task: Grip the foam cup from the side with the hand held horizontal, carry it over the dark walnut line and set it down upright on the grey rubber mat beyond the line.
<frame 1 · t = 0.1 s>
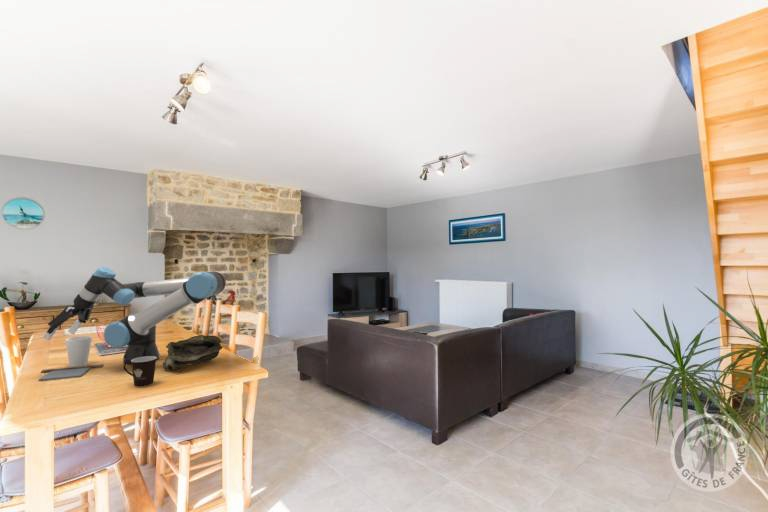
hand: (58, 335, 167), 15 cm above the table, tool tilted 35°, fingers open, 13 cm apart
foam cup: (78, 366, 172), on the table
coffee mug: (141, 383, 148), on the table
throw line: (73, 369, 166), on the table
hollow geode rock: (194, 365, 174), on the table
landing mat: (65, 374, 158), on the table
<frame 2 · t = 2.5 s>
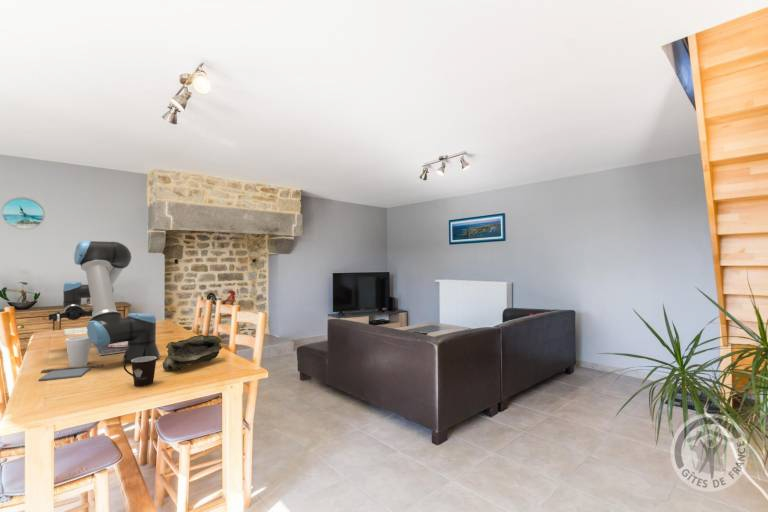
hand: (77, 317, 179), 22 cm above the table, tool horizontal, fingers open, 13 cm apart
nothing on the table moved.
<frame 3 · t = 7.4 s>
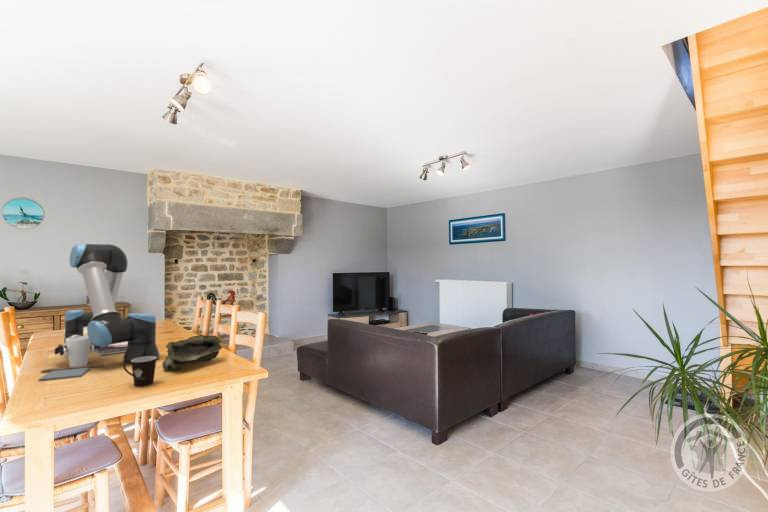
hand: (79, 351, 169), 8 cm above the table, tool horizontal, fingers closed on foam cup, 9 cm apart
foam cup: (78, 366, 172), on the table, touching gripper
everything else where it was.
when the fingers open (9 cm above the table, at t = 14.0 s): foam cup drops 1 cm, resting on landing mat.
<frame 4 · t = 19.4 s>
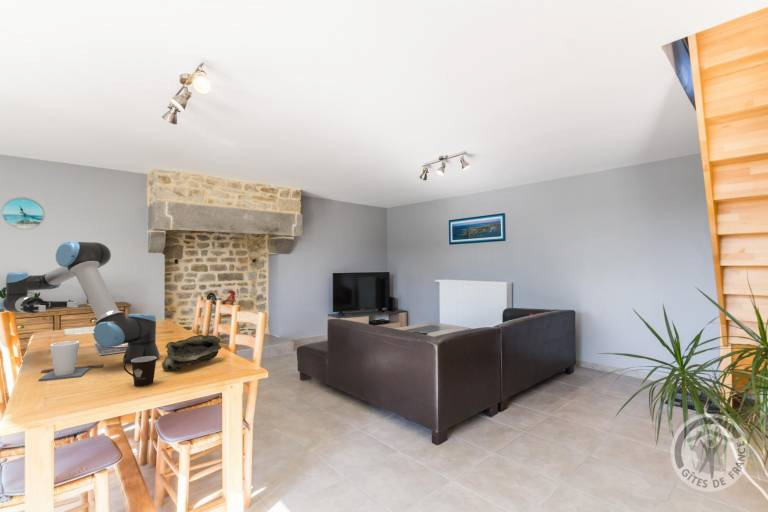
hand: (61, 306, 171), 28 cm above the table, tool horizontal, fingers open, 13 cm apart
foam cup: (64, 373, 158), point 1 cm above the table, touching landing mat
everything else where it was.
at the end: foam cup 0.5 cm from the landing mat (horizontally); foam cup tilted 0°; the gripper is holding nothing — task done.
